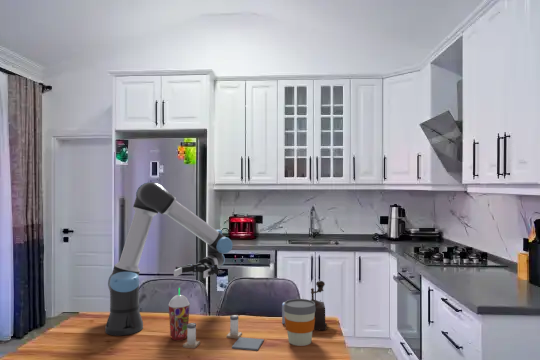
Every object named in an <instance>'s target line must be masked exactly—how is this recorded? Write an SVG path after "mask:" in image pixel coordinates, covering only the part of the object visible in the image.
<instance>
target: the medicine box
mask: <svg viewBox="0 0 540 360" xmlns="http://www.w3.org/2000/svg"><path fill="white" fill-rule="evenodd" d="M285 302H286V301H283V302H282V304H281V312H282V313H281V317H282V318H281V320H282V321H281V324H282V325H285V311H284V304H285Z"/></svg>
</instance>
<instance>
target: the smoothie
mask: <svg viewBox="0 0 540 360" xmlns="http://www.w3.org/2000/svg"><path fill="white" fill-rule="evenodd" d="M177 288H178V290H177V291H178V294H175V296H173V297H172V298H171V299H170V301H169V303H168V313H169V314H168V316H169V334H170V337H171V339H172V341H182V340H186V338H187V324H189V323H190V322H189V321H190V320H189V318H190V317H189V316H190V306H191V303H190V302H189V299H188V298H187V297H186V296H185V295H183V294H181V287H177Z"/></svg>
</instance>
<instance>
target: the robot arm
mask: <svg viewBox="0 0 540 360" xmlns="http://www.w3.org/2000/svg"><path fill="white" fill-rule="evenodd" d="M132 209H133V210H134V214H133V217H132V219H131V224H130V227H129V230H128V233H127V235H126V239H125V243H124V245H123V250H122V251H121V256H120V259H119V262H116V263H115V264H114V266H113V269H112V272H111V274H110V276H109V277H108V281H107V288H108V289H109V315H108V318H107V321H106V323H105V326H104V327H105V333H106V335H110V336H128V335H132V334H133V335H134V334H136V333H139V332H141V331H142V330H143V329H144V322H143V318H142V316H141V313H140V277H139V275H140V272H141V270H140V267H139V264H140V261H141V258H142V255H143V250H144V248H145V245H146V242H147V238H148V234H149V232H150V229H151V225H152V222H153V218H154V217H155V216H157V215H158V213H160V214H161V215H166V216H168V217H169V218H170V219H171V220H173V221H174V222H176V223H177V224H179V225H180V226H182V227H183V228H185V229H186V230H187V231H189V232H190V233H192V234H193V235H195V236H196V237H197V238H199V239H200V240H202V242H204V243H205V244H207V245H206V248H207V250H206V252H207V253H206V256H204V257H203V258H201V259H199V260H198V262H197V263H194V264H193V263H188V264H185V265H179V266H175V269H174V270H173V277H174V278H176V277H178V276H181V275H182V274H183V273H184V274H185V273H191V272H192V273H200V274H203V279H206V278H208V277H210V276H213V275H216V276H217V275H219V269H220V268H221V267H223V266H224V264H225V262H226V259H225V255H224V254H228V253H230V252H231V251H232V249H233V245H234V244H233V241H232V240H231V239H230V238H229V237H228V236H227V237H226V236H225V235H223V230H221V229H216V228H214V227H213V226H211V225H210V224H209V223H208V222H206V221H205V220H203V219H202V218H201V217H199V216H198V215H197V214H195V213H193V212H192V210H190V209H188V207H186V206H184V205H183V204H181V203H180V202H179V201H177V198H176V196H174V195H173V194H172V193H170V192H169V191H168V190H167V189H166V188H165V187H164V186H163V185H162V184H160V183H158V182H152V181H149V182H144V183H143V184H141V185H139V187H138V188H137V189H136V193H135V199H134V204H133V207H132Z"/></svg>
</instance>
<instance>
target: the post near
mask: <svg viewBox="0 0 540 360" xmlns="http://www.w3.org/2000/svg"><path fill="white" fill-rule="evenodd" d="M186 338H187V339H186V341H185V343H183V344H182V348H187V349H188V348H189V349H196V348H197V347H198V346H199V345H200V344H201V341H200V340H197V323H196V322H188V324H187V336H186Z"/></svg>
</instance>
